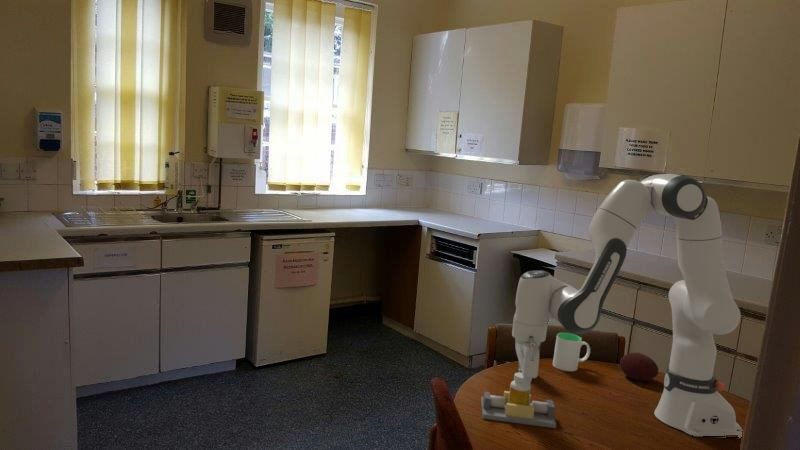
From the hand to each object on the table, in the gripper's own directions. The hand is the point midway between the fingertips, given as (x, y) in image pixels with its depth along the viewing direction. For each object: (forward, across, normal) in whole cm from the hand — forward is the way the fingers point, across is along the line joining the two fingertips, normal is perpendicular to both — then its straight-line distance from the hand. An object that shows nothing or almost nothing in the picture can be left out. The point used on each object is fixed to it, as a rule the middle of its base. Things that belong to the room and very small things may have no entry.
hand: (523, 380), depth 163 cm
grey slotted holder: (+10, 0, +1) cm, 10 cm away
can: (+10, +30, -5) cm, 32 cm away
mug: (+10, +42, -21) cm, 48 cm away
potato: (+11, +39, -42) cm, 58 cm away
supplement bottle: (+9, 0, +1) cm, 9 cm away
